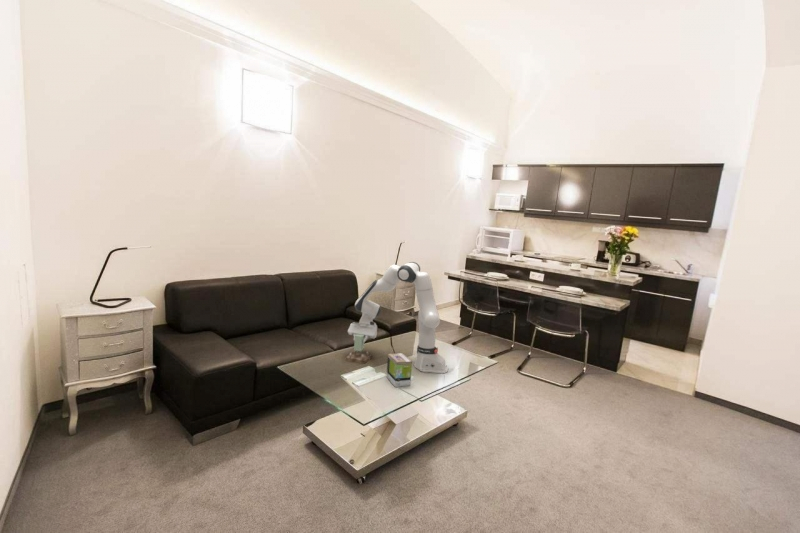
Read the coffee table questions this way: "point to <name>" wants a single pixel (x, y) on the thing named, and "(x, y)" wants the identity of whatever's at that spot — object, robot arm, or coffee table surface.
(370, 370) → the coffee table surface
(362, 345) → the sage post
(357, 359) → the walnut peg plate
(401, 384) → the tea box
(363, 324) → the robot arm
